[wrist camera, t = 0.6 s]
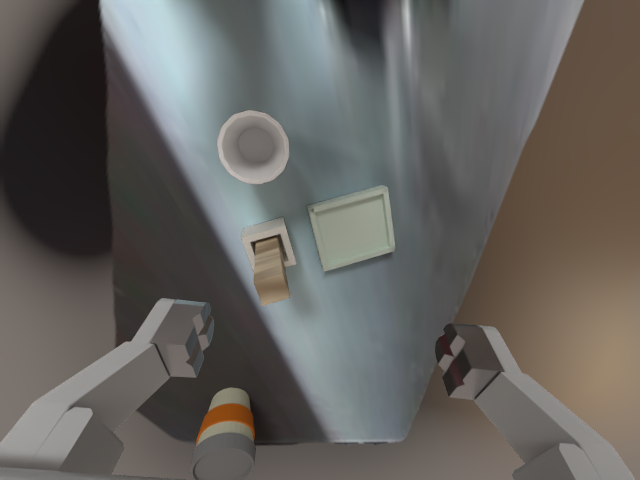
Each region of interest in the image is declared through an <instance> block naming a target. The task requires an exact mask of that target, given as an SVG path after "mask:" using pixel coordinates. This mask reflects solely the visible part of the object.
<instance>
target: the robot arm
mask: <svg viewBox="0 0 640 480" xmlns="http://www.w3.org/2000/svg"><path fill="white" fill-rule="evenodd" d="M210 311H211V308H210V305H209V303H202V302H193V301H184V300H175V299H164V298H162V299H160V300H159V301H158V302H157V303H156V304H155V306H154V308H153V309H152V311H151V312H150V314H149V315H148V317H147V318H146V320H145V321H144V323H143V324H142V326H141V327H140V329H139V330H138V332H137V333H136V335H135V337H134V338H133V340H132V341H131V342H125V343H123V344H122V345H120V346H119V347H117V348H116V349H114V350H113V351H111V352H110V353H108V354H106V355H105V356H103V357H102V358H100V359H99V360H97V361H96V362H94V363H93V364H91V365H90V366H88V367H87V368H85V369H84V370H82V371H80V372H79V373H77V374H76V375H74V376H73V377H71V378H70V379H68V380H67V381H65V382H64V383H62V384H61V385H59V386H58V387H56V388H54V389H53V390H51V391H50V392H48V393H47V394H45V395H44V396H42V397H41V398H40V399H38V400H36V401H35V402H33V404H32V405H31V406H30V407H29V409H28V410H27V411H26V412H25V414H24V415H23V416H22V417H21V418H20V420H19V421H18V422H17V423H16V425H15V426H14V427H13V428H12V429H11V431H10V432H9V433H8V434H7V435H6V437H5V438H4V439H3V440H2V442H1V443H0V480H185V479H171V478H156V477H141V476H125V475H112V472H113V471H114V468H115V466H116V464H117V462H118V460H119V458H120V456H121V454H122V452H123V450H124V445H123V442H122V441H121V440H120V439H119V438H118V437H117V436H116V435H115V434H114V433H113V431H114V430H116V428H118V427H119V425H121V424H122V423H123V422H124V421H125V420H126V419H127V418H128V417H129V416H130V415H131V414H132V413H133V412H134V411H135V410H136V409H137V408H138V407H140V406H141V405H142V404H143V403H144V402H145V401H146V400H147V399H148V398H149V397H150V396H151V395H152V394H153V393H154V392H155V391H156V390H157V389H158V388H159V387H160V386H161V385H163V384H164V383H165V382H166V381H167V380H168V379H169V376H177V377H197V374H198V372H199V369H200V367H201V364H202V362H203V359H204V356H203V353H202V351H203V350H204V349H205V348H207V347H208V346H209V344H210V341H211V339H212V334H213V330H214V322H213V318H212V317H211V316H210V315H209V313H210ZM443 330H444V332H445V334H444V335H442V336H440V337H439V338H438V340H437V342H436V347H435V353H436V359H437V362H438V364H439V366H440V367H441V368H442V369H443V370H444V371H445V372H444V374H443V381H444V384H445V387H446V390H447V392H448V396H449V397H452V398H461V399H470V400H475V401H474V402H475V403H476V404H477V405H478V406H479V408H480V409H481V410H482V412H483V413H484V414H485V415H486V416H487V418H488V419H489V420H490V421H491V422H492V424H493V425H494V426H495V427H496V429H497V430H498V431H499V432H500V433H501V435H502V436H503V437H504V438H505V439H506V441H507V442H508V443H509V444H510V445H511V447H512V448H513V449H514V450H515V452H516V453H517V454H518V455H519V456H520V458H521V459H522V460H523V461H524V462H525V464H524V465H523V466H521V467H519V468H518V469H516V470H514V472H513V474H512V476H513V479H514V480H635V478H634V477H633V475H632V474H631V472H630V471H629V470H628V468H627V467H626V465H625V464H624V462H623V461H622V459H621V458H620V456H619V455H618V453H617V452H616V450H615V449H614V447H613V446H612V445H611V444H610V443H608V442H607V441H606V440H605V439H604V438H602V437H601V436H600V435H599V434H598V433H596V432H595V431H594V430H593V429H592V428H590V427H589V426H588V425H587V424H586V423H585V422H583V421H582V420H581V419H580V418H579V417H577V416H576V415H575V414H574V413H573V412H571V411H570V410H569V409H568V408H567V407H565V406H564V405H563V404H562V403H561V402H560V401H558V400H557V399H556V398H555V397H553V396H552V395H551V394H550V393H549V392H548V391H546V390H545V389H544V388H543V387H542V386H540V385H539V384H538V383H537V382H536V381H534V380H533V379H532V378H531V377H530V376H528V375H527V374H522V372H521V371H520V369H519V367H518V365H517V364H516V362H515V360H514V358H513V356H512V355H511V353H510V351H509V349H508V348H507V346H506V344H505V342H504V341H503V339H502V337H501V335H500V334H499V332H498V331H497V329H496V328H494V327H489V326H477V325H468V324H453V323H449V324H447V325H446V326H445V328H444V329H443Z"/></svg>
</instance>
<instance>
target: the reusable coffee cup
mask: <svg viewBox="0 0 640 480" xmlns="http://www.w3.org/2000/svg"><path fill="white" fill-rule="evenodd" d="M254 439H255V432H254V422H253V415H252V413H251V410H250V400H249V396H248V394H247V393H246V392H245V391H244V390H241V389H238V388H227V389H224V390H221V391H219V392H218V393H217V394H216V395H215V396H214V397H213V399H212V402H211V405H210V408H209V411H208V413H207V414H206V416H205V417H204V420H203V423H202V426H201V429H200V431H199V434H198V437H197V446H196V448H195V449H194V451H193V454H192V460H191V470H190V474H191V477H192V479H193V480H244V479H246V478H247V477H248V476H249V475H250V473H251V472H252V470H253V467H254V460H255V451H256V448H255V444H254Z"/></svg>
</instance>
